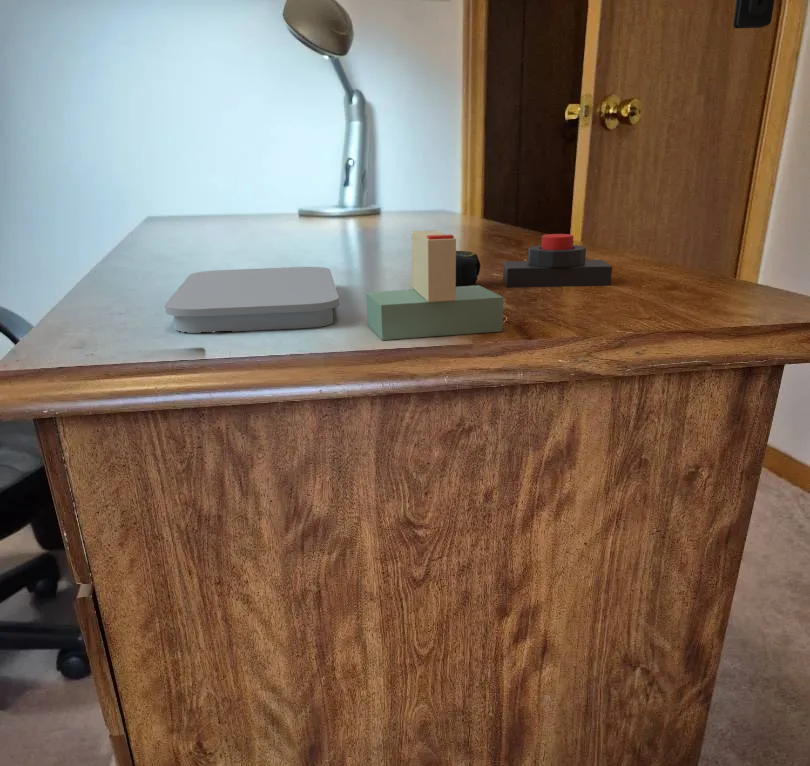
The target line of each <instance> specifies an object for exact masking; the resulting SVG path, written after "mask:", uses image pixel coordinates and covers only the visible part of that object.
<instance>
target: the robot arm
mask: <svg viewBox="0 0 810 766" xmlns="http://www.w3.org/2000/svg"><path fill="white" fill-rule="evenodd" d="M774 5H775V0H735V7H734V12H733V13H734V15H733V21H732V22H733V23H732V26H733V29H761V28H765V27H767V26H770V24H771V23H772V19H773V18H772V17H773V13H774V12H773V11H774Z"/></svg>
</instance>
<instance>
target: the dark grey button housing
mask: <svg viewBox="0 0 810 766" xmlns="http://www.w3.org/2000/svg"><path fill="white" fill-rule="evenodd" d="M527 251H528V254H527V255H528V256H527V260H517V261H514V260H512V261H511V260H509V261H503V264H502V265H503V266H502V281H503V284H504V285H505V287H506V288H551V287H552V288H554V287H555V288H557V287H559V288H561V287H610V286H612V285H611V283H612V274H613V273H612V272H613V266H612V265H611V264H609V263H608V262H606V261H605V260H603V259H586V256H587V255H586V254H587V248H586V247H585V246H582V245H577V244H573V249H567V250H545V249H542V244H541V245H533V246H530V247H528V250H527Z"/></svg>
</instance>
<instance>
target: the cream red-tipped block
mask: <svg viewBox="0 0 810 766" xmlns="http://www.w3.org/2000/svg"><path fill="white" fill-rule="evenodd" d="M410 244H411V245H410V247H411V249H410V250H411V251H410V252H411V288H412V289H414V290H415V291H417V292H418V293H419V294H420V295H421V296H422V297H423V298H425V299H426V300H427V301H428V302H438V301H455V300H456V287H457V285H456V251H457V238H455V236H454V235H453V234H450V233H449V234H445V233H443V232H441V231H439V230H437V229H435V230H412V231H411V232H410Z"/></svg>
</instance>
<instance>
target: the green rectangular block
mask: <svg viewBox="0 0 810 766" xmlns="http://www.w3.org/2000/svg"><path fill="white" fill-rule="evenodd" d="M365 301H366V303H365V304H366V322H367V326H368V327H369V328H370V329H371V330H372V331H373V333H375V334H376V336H378V337H379V339H380V340H381V341H390V340H391V341H393V340H403V339H405V340H406V339H417V338H418V339H419V338H432V337H446V336H447V337H448V336H461V335H473V334H487V333H498V332H499V333H501V332H503V323H504V321H503V320H504V296H502V295H499V294H497V293H496V292H494V291H491V290H490V289H487V288H485V287H483V286H482V285H478V284H477V285H459V286H456V300H455V301H438V302H428V301H427V300H426V299H425V298H423V297H422V296H421V295H420V294H419V293H418V292H417V291H415V290H414V289H413V288H412V289H411V288H410V289H397V290H395V289H394V290H381V291H366V292H365Z"/></svg>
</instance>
